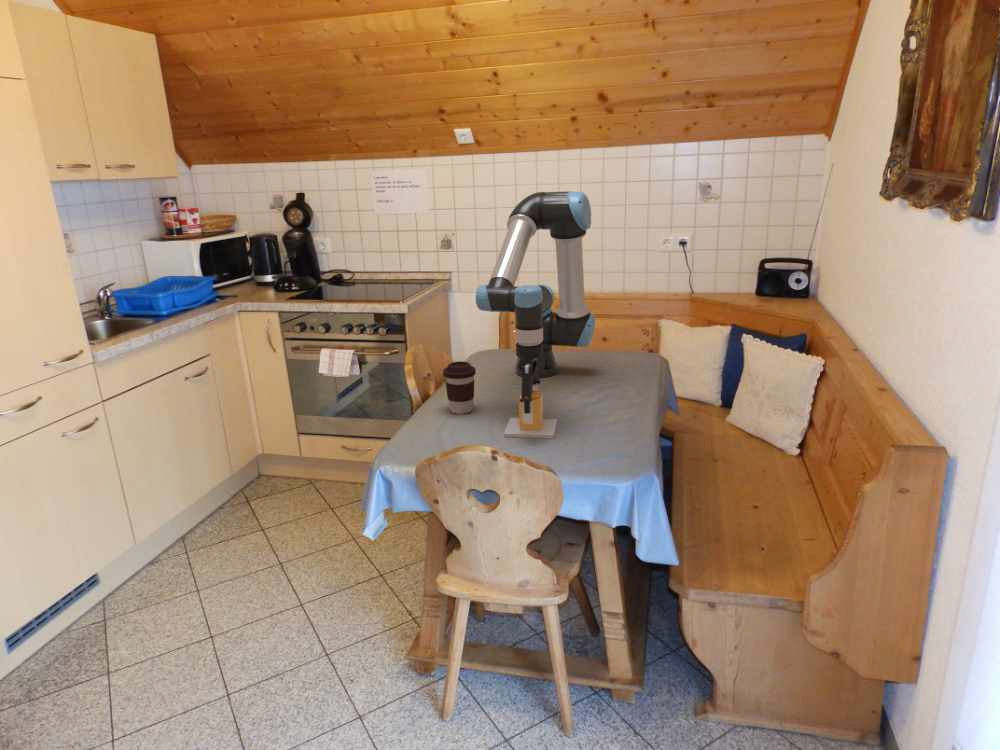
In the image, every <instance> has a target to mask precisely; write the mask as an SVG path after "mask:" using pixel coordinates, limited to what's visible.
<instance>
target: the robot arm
mask: <svg viewBox="0 0 1000 750" xmlns="http://www.w3.org/2000/svg"><path fill="white" fill-rule="evenodd" d="M591 225H592V209H591V203H590V201H589V198H588V196H587V195H586V193H585V192H583V191H573V190H569V191H568V190H567V191H540V192H539V191H537V192H534V193H532V194H530V195H527V196H526V197H525V198H523V199H522V200H521V201H520V202H519V203H518V204H517V205H516V206H515V207H514V208H513V209H512V211H511V213H510V214H509V217H508V220H507V222H506V227H507V232H506V235H505V236H504V240H503V242H502V245H501V248H500V252H499V254H498V256H497V260H496V263H495V265H494V268H493V270H492V273H491V276H490V278H489V282H488V284H484V285H479V286H478V287H477V289H476V292H475V304H476V307H477V308H478V310H480V311H484V312H491V313H493V312H495V313H496V312H497V313H499V312H500V313H514V320H515V322H514V323H515V330H513V331H512V333H513V334H514V335H515V342H516V343H515V356H516V357H517V360H516V362H515V363H516V364H515V374H516V375H518V376H520V377H521V393H522V397H521V399H520V402H522V409H523V423H525V424H533V402H532V390H535V391H538V392H539V385H540V384H541V378H548V377H551V376H554V375H556V374H557V373H558V364H557V360H556V359H555V356H554V355H555V354H554V353H553V352H554V351H553V346H554V347H555V346H557V347H575V348H587V347H588V346H590V344H591V343H592V339H593V336H594V333H595V332H594V331H595V327H596V325H595V324H596V315H595V314H594V313H591V309H590V307H589V306H588V305H587V304H586V303H585V301H586V300H585V282H584V277H585V276H584V275H585V274H584V257H583V238H584V237H585V236H586V235H587V230H589V229H590V228H591V227H592V226H591ZM538 230H549V235H550V238H551V239H553V240H554V241H555V242H554V243H555V253H556V255H555V256H556V257H555V258H556V270H557V285H558V297H559V298H558V301H559V305H558V307H557V308H556V309H555V312H553V309H552V307H553V305H554V303H555V299H556V297H555V292H554V291H553V289H552V287H550V286H548V285H547V284H538V285H534V284H527V285H526V284H525V285H519V286H515V285H516V282H517V279H518V277H519V273H520V271H521V268H522V264H523V261H524V259H525V255H526V252H527V249H528V247H529V244H530V241H531V238H532V237H534V235H535V234H536V232H537V231H538ZM525 397H529V398H525Z"/></svg>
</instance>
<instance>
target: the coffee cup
mask: <svg viewBox="0 0 1000 750" xmlns="http://www.w3.org/2000/svg"><path fill="white" fill-rule="evenodd" d="M476 370H477V369H476V367H475V366H473V365H472V364H471V363H470V362H467V361H452V362H450V363H448V365H447V366H446V367H445V368H443V370H442V375H443V377H445V389H446V394H447V395H446V397H447V400H448V405H449V406H448V407H449V411H450V412H451V413H453V414H455V413H456V414H455V415H457V414H458V415H464V413H465V414H468V412H469V413H471V412H472V411H473V410H474V398H475V379H474V378H475V375H476V373H477V372H476Z"/></svg>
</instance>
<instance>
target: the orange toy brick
mask: <svg viewBox="0 0 1000 750" xmlns="http://www.w3.org/2000/svg"><path fill="white" fill-rule="evenodd" d="M521 397H522V392H521V394H520V396H519V399H518V418H519V428H520V430H537V431H541V427H542V424H543V419H544V418H543V417H544V413H543V410H544V409H543V405H544V404H543V402H544V401H543V393H540V392H539V390H538V391H535V390H532V402H533V424H525V423H523V409H522V402H520V399H521ZM525 398H529V397H525Z"/></svg>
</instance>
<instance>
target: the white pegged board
mask: <svg viewBox="0 0 1000 750" xmlns="http://www.w3.org/2000/svg"><path fill="white" fill-rule="evenodd" d="M557 426H558V419H557V418H543V424H542V427H541V431H537V430H520V428H519V417H509V419H508V421H507V425H506V427H505V429H504V432H503V438H525V439H548V440H549V439H550V440H551V439H554V438H555V434H556V431H557Z"/></svg>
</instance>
